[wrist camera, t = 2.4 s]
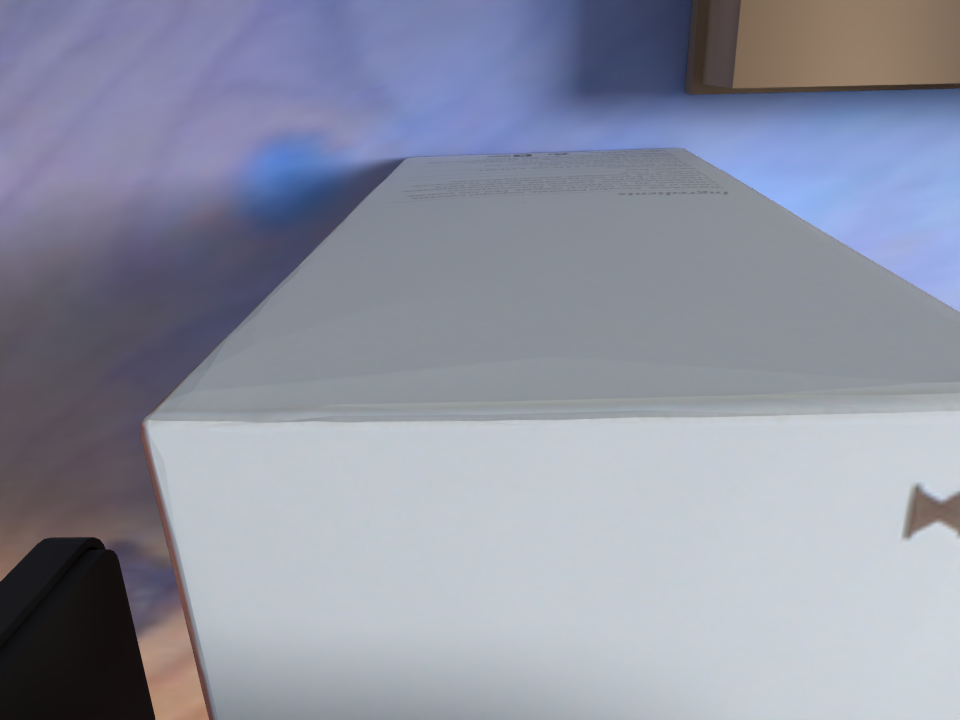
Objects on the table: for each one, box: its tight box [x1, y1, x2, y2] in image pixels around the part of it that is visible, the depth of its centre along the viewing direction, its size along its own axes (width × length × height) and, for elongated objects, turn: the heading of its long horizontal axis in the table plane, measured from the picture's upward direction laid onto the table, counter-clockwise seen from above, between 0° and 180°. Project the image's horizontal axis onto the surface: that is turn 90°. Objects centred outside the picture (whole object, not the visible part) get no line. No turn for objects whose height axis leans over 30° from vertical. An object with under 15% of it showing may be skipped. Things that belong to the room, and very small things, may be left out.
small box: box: [141, 148, 960, 720], centre depth 12 cm, size 8×6×13 cm
